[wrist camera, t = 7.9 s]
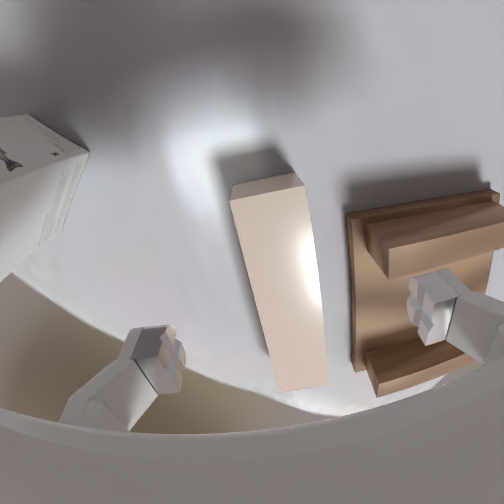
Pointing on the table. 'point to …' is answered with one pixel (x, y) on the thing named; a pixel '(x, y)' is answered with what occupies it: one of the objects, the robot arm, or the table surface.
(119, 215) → the table surface
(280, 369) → the beige rectangular bar
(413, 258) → the ridged wooden base
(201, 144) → the table surface
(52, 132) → the supplement box
